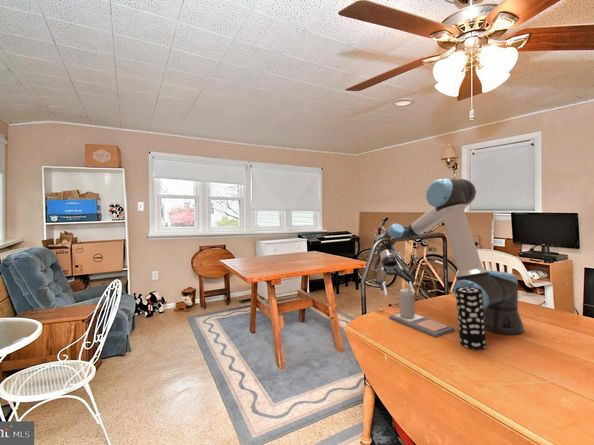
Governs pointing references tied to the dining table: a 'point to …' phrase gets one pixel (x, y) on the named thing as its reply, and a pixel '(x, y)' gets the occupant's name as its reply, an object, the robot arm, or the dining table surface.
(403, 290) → the beverage can
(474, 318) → the spotted tube
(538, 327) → the dining table surface
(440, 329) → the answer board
